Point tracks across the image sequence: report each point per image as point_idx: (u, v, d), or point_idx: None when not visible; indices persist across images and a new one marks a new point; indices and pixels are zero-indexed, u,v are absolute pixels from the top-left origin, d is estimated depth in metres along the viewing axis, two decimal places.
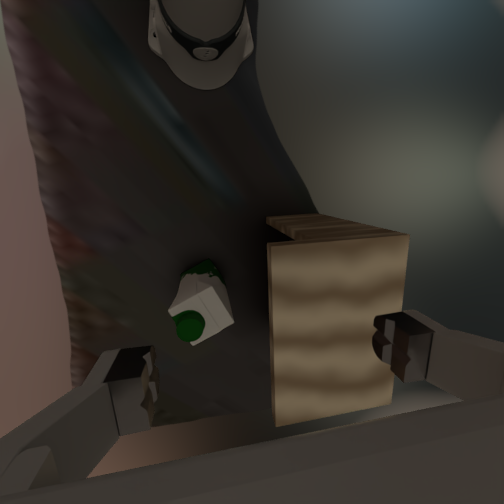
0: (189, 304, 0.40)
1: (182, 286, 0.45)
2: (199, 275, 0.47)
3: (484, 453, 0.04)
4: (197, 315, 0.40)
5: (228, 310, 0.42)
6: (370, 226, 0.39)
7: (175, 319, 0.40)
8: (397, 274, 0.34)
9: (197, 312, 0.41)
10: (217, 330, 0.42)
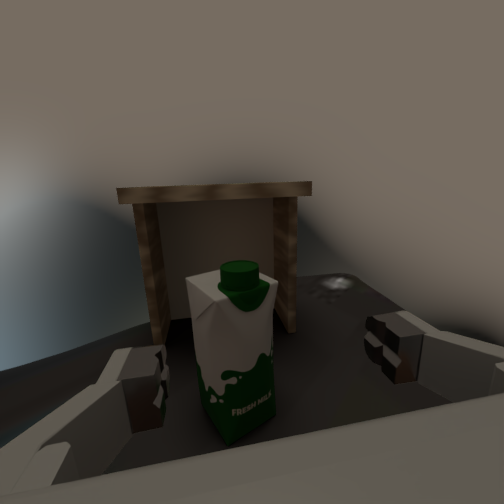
0: (208, 286, 0.26)
1: (204, 345, 0.27)
2: None
3: (484, 454, 0.04)
4: None
5: None
6: None
7: (232, 293, 0.25)
8: None
9: None
10: None
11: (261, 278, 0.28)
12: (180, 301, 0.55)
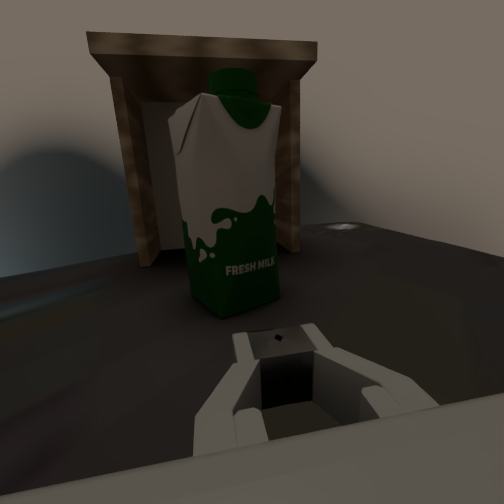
0: None
1: (189, 179, 0.21)
2: None
3: (484, 454, 0.04)
4: None
5: None
6: None
7: None
8: None
9: None
10: None
11: None
12: (171, 228, 0.50)
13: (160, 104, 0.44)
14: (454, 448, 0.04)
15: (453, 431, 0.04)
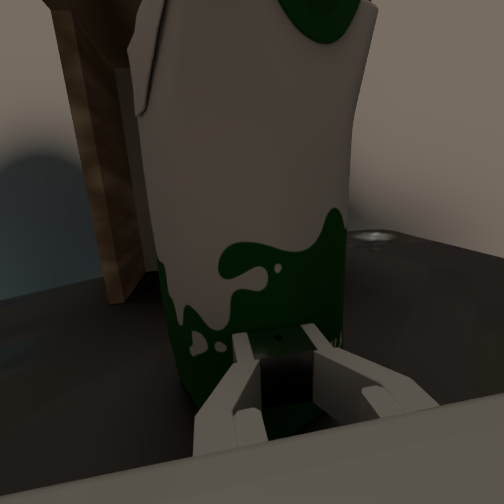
0: None
1: (166, 171, 0.09)
2: None
3: (484, 453, 0.04)
4: None
5: None
6: None
7: None
8: None
9: None
10: None
11: None
12: None
13: None
14: (454, 448, 0.04)
15: (453, 431, 0.04)
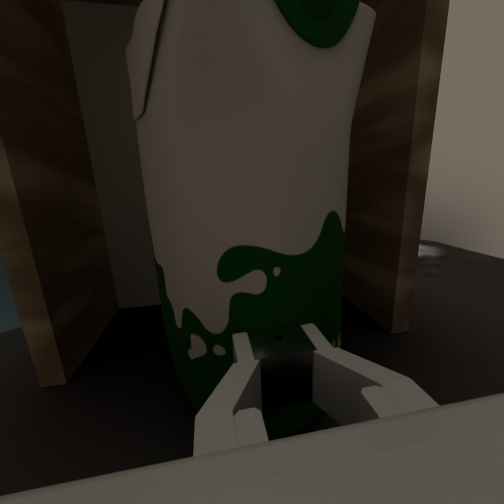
0: None
1: (164, 174, 0.09)
2: None
3: (484, 453, 0.04)
4: None
5: None
6: None
7: None
8: None
9: None
10: None
11: None
12: (137, 268, 0.26)
13: (106, 9, 0.20)
14: (454, 448, 0.04)
15: (453, 431, 0.04)
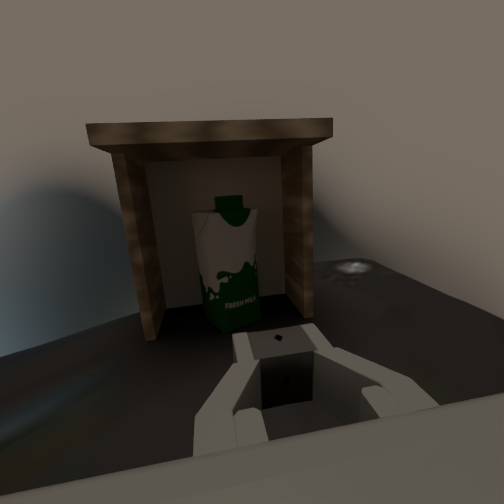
0: None
1: (204, 254, 0.37)
2: (197, 258, 0.40)
3: (484, 454, 0.04)
4: None
5: None
6: None
7: (222, 211, 0.35)
8: None
9: None
10: None
11: (246, 208, 0.38)
12: (176, 286, 0.48)
13: (164, 163, 0.42)
14: (454, 448, 0.04)
15: (453, 431, 0.04)
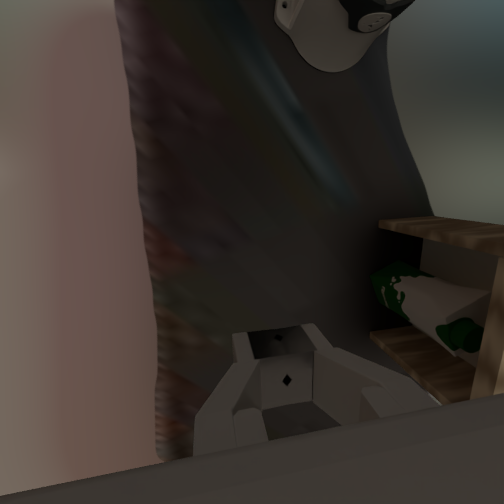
0: (466, 311, 0.36)
1: (424, 290, 0.41)
2: (435, 278, 0.43)
3: (484, 454, 0.04)
4: (475, 323, 0.36)
5: None
6: None
7: (449, 327, 0.36)
8: None
9: (470, 320, 0.37)
10: None
11: None
12: None
13: None
14: (454, 448, 0.04)
15: (453, 431, 0.04)
